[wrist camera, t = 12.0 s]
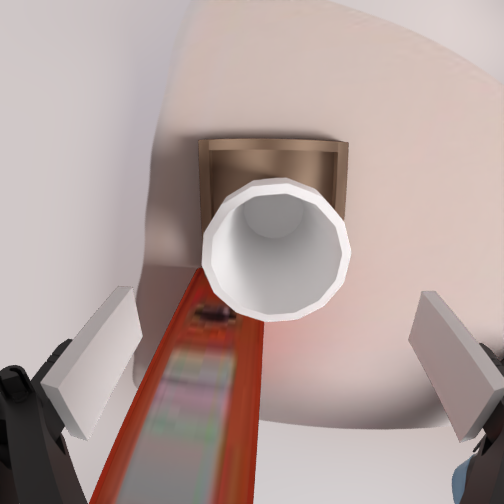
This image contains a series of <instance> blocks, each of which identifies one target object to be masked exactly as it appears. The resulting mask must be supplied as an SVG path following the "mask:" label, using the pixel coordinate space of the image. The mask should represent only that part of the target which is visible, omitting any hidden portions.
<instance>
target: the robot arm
mask: <svg viewBox="0 0 504 504" xmlns="http://www.w3.org/2000/svg"><path fill="white" fill-rule="evenodd" d="M142 337H143V335H142V330H141V326H140V321H139V317H138V312H137V307H136V302H135V297H134V291H133V287H124V286H118V287H117V288H116V289H115V290H114V291H113V293H112V294H111V295H110V296H109V297H108V298H107V299H106V301H105V302H104V303H103V304H102V305H101V307H100V308H99V309H98V310H97V311H96V313H95V314H94V315H93V316H92V317H91V318H90V320H89V321H88V322H87V323H86V325H85V326H84V327H83V328H82V330H81V331H80V332H79V333H78V334H77V336H76V337H75V338H74V339H73V340H72V339H67V340H66V341H64V342H63V343H61V344H60V345H59V346H58V347H57V348H56V349H55V351H54V352H53V353H52V355H50V357H49V358H48V359H47V362H45V363H44V364H43V365H42V367H41V368H40V369H39V371H38V372H37V373H36V375H35V376H34V377H33V378H32V380H31V381H30V379H29V377H28V376H27V374H26V372H25V370H24V369H23V368H22V367H21V366H17V365H12V366H8V367H5V368H3V369H2V370H1V371H0V504H88V503H87V501H86V498H85V496H84V493H83V491H82V489H81V486H80V483H79V481H78V478H77V475H76V473H75V470H74V467H73V464H72V461H71V458H70V456H69V452H68V449H67V446H66V442H65V439H64V437H63V435H62V433H61V432H62V430H63V428H64V427H66V429H67V430H68V432H69V433H70V435H71V436H74V437H77V438H80V439H83V440H86V441H88V440H89V438H90V436H91V434H92V432H93V430H94V428H95V426H96V424H97V422H98V420H99V418H100V416H101V414H102V412H103V410H104V408H105V406H106V404H107V402H108V400H109V398H110V396H111V394H112V392H113V391H114V389H115V387H116V385H117V383H118V381H119V379H120V377H121V375H122V373H123V372H124V370H125V368H126V366H127V364H128V362H129V361H130V359H131V357H132V355H133V353H134V351H135V350H136V348H137V346H138V344H139V342H140V341H141V339H142ZM408 340H409V342H410V344H411V346H412V348H413V349H414V351H415V353H416V355H417V357H418V359H419V360H420V362H421V364H422V366H423V368H424V370H425V372H426V374H427V376H428V377H429V379H430V381H431V383H432V385H433V387H434V389H435V391H436V393H437V395H438V397H439V399H440V401H441V403H442V405H443V407H444V409H445V411H446V414H447V416H448V418H449V420H450V422H451V424H452V426H453V428H454V431H455V433H456V435H457V437H458V440H459V442H460V443H461V442H464V441H467V440H470V439H473V438H475V437H476V436H477V435H478V433H479V432H480V431H481V429H482V428H483V429H484V431H485V433H486V434H485V435H484V437H483V438H482V439H481V440H480V442H479V443H478V444H477V446H476V447H475V448H474V450H473V452H475V451H476V450H477V449H478V448H479V451H478V453H476V454H474V455H472V456H471V457H470V458H469V459H468V460H467V461H465V462H464V463H462V464H461V465H459V466H458V467H457V468H456V469H455V471H454V474H453V476H452V493H453V499H454V503H455V504H504V359H503V360H502V362H501V363H500V361H499V360H498V359H497V357H496V356H495V355H494V353H493V352H492V351H491V349H489V348H488V347H486V346H485V345H484V344H482V343H478V342H477V341H476V339H475V338H474V337H473V336H472V334H471V333H470V332H469V331H468V329H467V328H466V327H465V326H464V324H463V323H462V322H461V321H460V320H459V318H458V317H457V316H456V315H455V314H454V312H453V311H452V310H451V309H450V308H449V306H448V305H447V304H446V303H445V302H444V301H443V299H442V298H441V297H440V296H439V295H438V294H437V292H436V291H422V292H421V296H420V300H419V304H418V308H417V312H416V315H415V319H414V322H413V326H412V329H411V332H410V336H409V339H408Z"/></svg>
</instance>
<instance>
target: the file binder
mask: <svg viewBox="0 0 504 504" xmlns="http://www.w3.org/2000/svg"><path fill="white" fill-rule="evenodd" d="M263 334H264V321H261V320H258V319H254V318H251V317H248V316H245V315H242V314H239V313H236V312H235V311H234V310H233V309H232V308H231V307H229V306H228V305H227V304H226V303H225V302H224V301H223V300H221V299H220V298H219V297H218V296H217V295H216V294H215V293H214V292H213V290H212V288H211V285H210V283H209V281H208V278H207V277H205V273H204V269H203V268H199V269H197V270H196V272H195V274H194V276H193V278H192V280H191V282H190V284H189V286H188V288H187V289H186V291H185V293H184V295H183V297H182V299H181V301H180V303H179V305H178V307H177V309H176V311H175V313H174V315H173V317H172V319H171V321H170V324H169V326H168V328H167V330H166V332H165V334H164V336H163V338H162V340H161V342H160V344H159V346H158V348H157V350H156V352H155V354H154V357H153V359H152V361H151V363H150V365H149V367H148V369H147V371H146V373H145V376H144V378H143V380H142V382H141V384H140V386H139V388H138V391H137V393H136V395H135V397H134V399H133V402H132V404H131V406H130V408H129V410H128V413H127V415H126V417H125V419H124V422H123V424H122V426H121V428H120V431H119V433H118V435H117V438H116V440H115V442H114V444H113V447H112V449H111V451H110V454H109V456H108V458H107V461H106V463H105V465H104V468H103V470H102V473H101V475H100V477H99V480H98V482H97V485H96V487H95V490H94V492H93V495H92V497H91V500H90V502H89V504H253V498H254V484H255V470H256V455H257V440H258V424H259V423H258V422H259V407H260V390H261V372H262V353H263Z"/></svg>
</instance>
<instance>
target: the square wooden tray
mask: <svg viewBox="0 0 504 504" xmlns="http://www.w3.org/2000/svg"><path fill="white" fill-rule="evenodd" d="M348 147H349V143H348V142H340V141H324V140H305V139H267V138H241V139H203V140H198V150H199V181H200V205H201V225H202V243H203V235H204V232H205V230H206V229H207V227H208V225H209V224H210V222H211V221H212V219H213V217H214V216H215V214H216V212H217V211H218V209H219V208H220V206H221V204H222V203H223V201H224V200H225V198H226V197H227V196H228V195H230V194H232V193H233V192H235V191H237V190H238V189H240V188H242V187H243V186H245V185H246V184H248V183H250V182H251V181H253V180H262V179H268V178H289V179H291V180H294V181H296V182H299V183H302V184H304V185H307V186H309V187H312V188H314V189H316V190H317V191H318V192H319V193H320V194H321V195H322V196H323V198H324V199H325V200H326V201H327V202H328V203H329V204H330V205H331V207H332V208H333V209H334V210H335V211H336V212H337V213H338V215H339V216H340V217H341V218H342V220H343V221H344V215H345V202H346V188H347V170H348ZM204 273H205V272H204ZM205 277H207V276H206V274H205Z"/></svg>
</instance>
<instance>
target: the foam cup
mask: <svg viewBox="0 0 504 504" xmlns="http://www.w3.org/2000/svg"><path fill="white" fill-rule="evenodd" d="M350 257H351V248H350V244H349V240H348V236H347V231H346V227H345V223H344V221H343V220H342V218H341V217H340V216H339V215H338V213H337V212H336V211H335V210H334V209H333V208H332V207H331V205H330V204H329V203H328V202H327V201H326V200H325V199H324V198H323V196H322V195H321V194H320V193H319V192H318V191H317V190H316V189H314V188H312V187H309V186H307V185H304V184H302V183H299V182H296V181H294V180H291V179H289V178H268V179H262V180H253V181H251V182H250V183H248V184H246V185H245V186H243V187H242V188H240V189H238V190H237V191H235V192H233V193H232V194H230V195H228V196H227V197H226V198H225V200H224V201H223V203H222V204H221V206H220V208H219V209H218V211H217V212H216V214H215V216H214V217H213V219H212V221H211V222H210V224H209V225H208V227H207V229H206V230H205V232H204V235H203V250H202V267H203V269H204V272H205V274H206V276H207V278H208V281H209V283H210V285H211V288H212V290H213V292H214V293H215V294H216V295H217V296H218V297H219V298H220V299H221V300H223V301H224V302H225V303H226V304H227V305H228V306H229V307H231V308H232V309H233V310H234V311H235V312H236V313H239V314H242V315H245V316H248V317H251V318H254V319H258V320H261V321H264V322H276V321H289V320H297V319H300V318H302V317H304V316H306V315H308V314H310V313H312V312H314V311H316V310H318V309H320V308H322V307H324V306H325V305H326V304H327V302H328V301H329V300H330V299H331V298H332V296H333V295H334V294H335V293H336V292H337V290H338V289H339V288H340V287H341V286H342V284H343V283H344V281H345V277H346V273H347V269H348V265H349V261H350Z"/></svg>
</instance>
